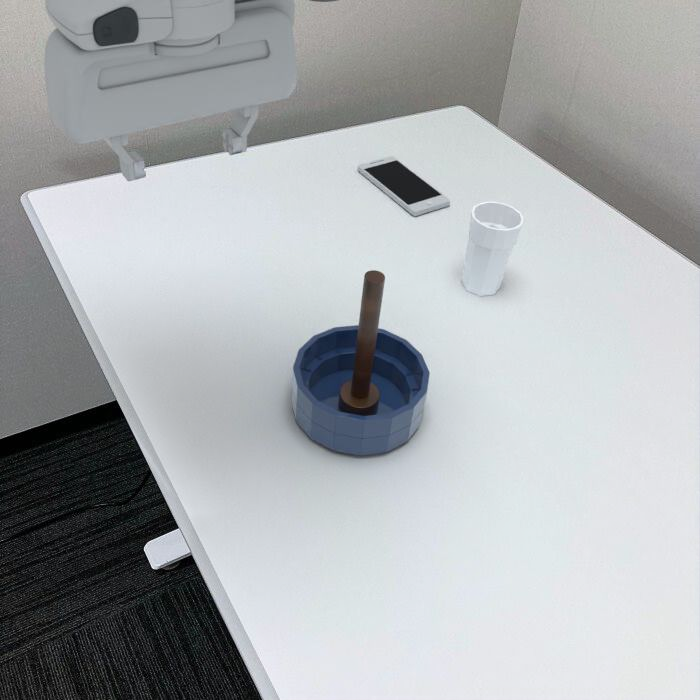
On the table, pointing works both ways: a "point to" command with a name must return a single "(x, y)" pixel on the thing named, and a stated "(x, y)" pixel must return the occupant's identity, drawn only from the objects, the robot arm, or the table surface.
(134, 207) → the table surface
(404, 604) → the table surface
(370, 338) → the stick
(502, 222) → the cup
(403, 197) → the smartphone
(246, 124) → the robot arm
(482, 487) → the table surface
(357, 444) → the bowl
